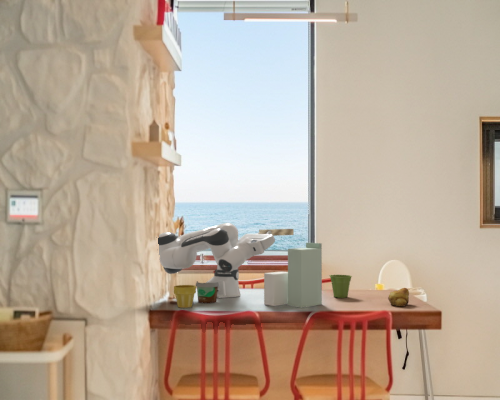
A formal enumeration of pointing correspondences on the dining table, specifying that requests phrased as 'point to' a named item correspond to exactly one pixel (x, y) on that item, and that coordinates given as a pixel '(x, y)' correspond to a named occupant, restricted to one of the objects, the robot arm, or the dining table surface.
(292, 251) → the pale green block
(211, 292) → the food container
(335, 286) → the plant pot
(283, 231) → the rail
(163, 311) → the dining table surface
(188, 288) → the plant pot
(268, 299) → the block
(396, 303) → the bread roll
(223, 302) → the dining table surface
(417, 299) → the dining table surface
